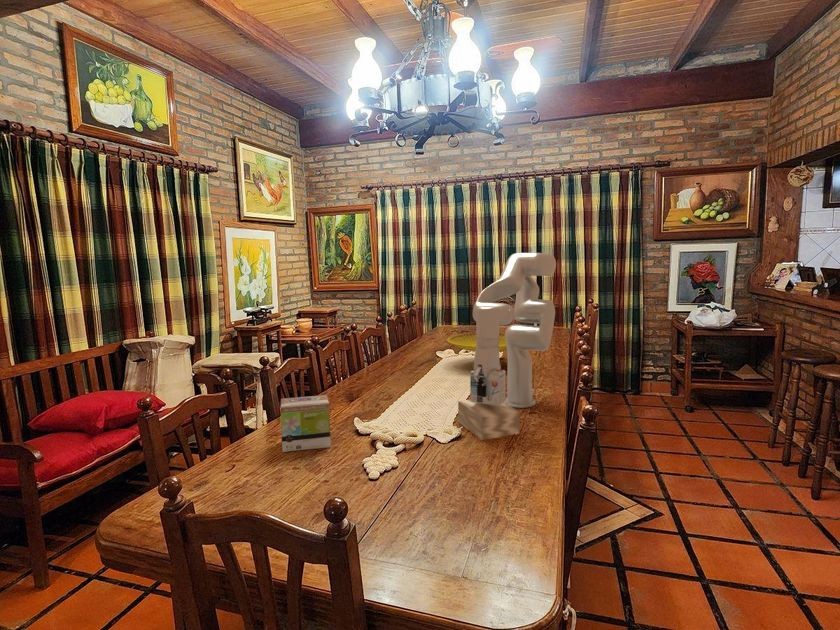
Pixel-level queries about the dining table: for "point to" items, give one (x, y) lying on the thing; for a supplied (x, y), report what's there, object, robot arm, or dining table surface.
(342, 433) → the dining table surface
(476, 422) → the birch block
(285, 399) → the tea box
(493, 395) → the light bulb box
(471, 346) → the cake stand
